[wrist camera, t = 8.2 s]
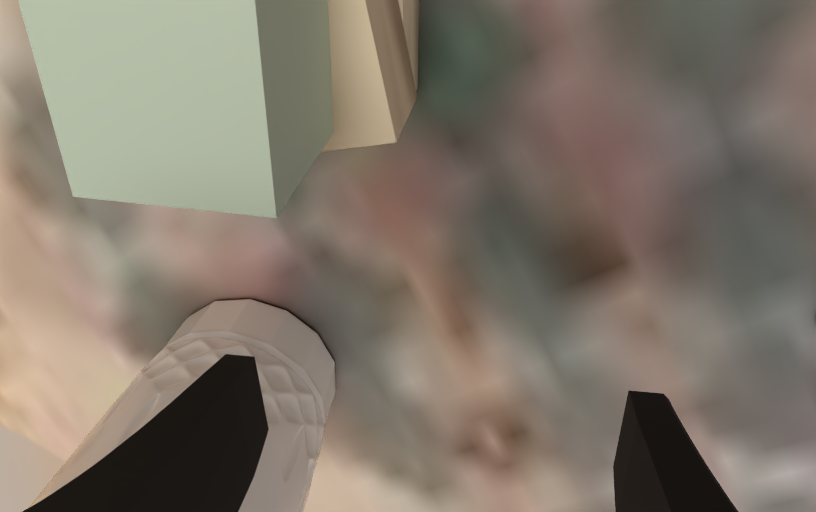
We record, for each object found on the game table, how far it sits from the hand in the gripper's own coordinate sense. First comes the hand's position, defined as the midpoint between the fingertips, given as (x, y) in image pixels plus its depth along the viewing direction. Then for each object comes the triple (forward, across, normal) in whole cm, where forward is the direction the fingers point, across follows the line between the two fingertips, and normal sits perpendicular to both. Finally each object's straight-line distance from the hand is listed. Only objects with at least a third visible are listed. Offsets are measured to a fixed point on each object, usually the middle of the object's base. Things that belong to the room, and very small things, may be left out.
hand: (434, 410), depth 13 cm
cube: (+5, +5, -6) cm, 9 cm away
